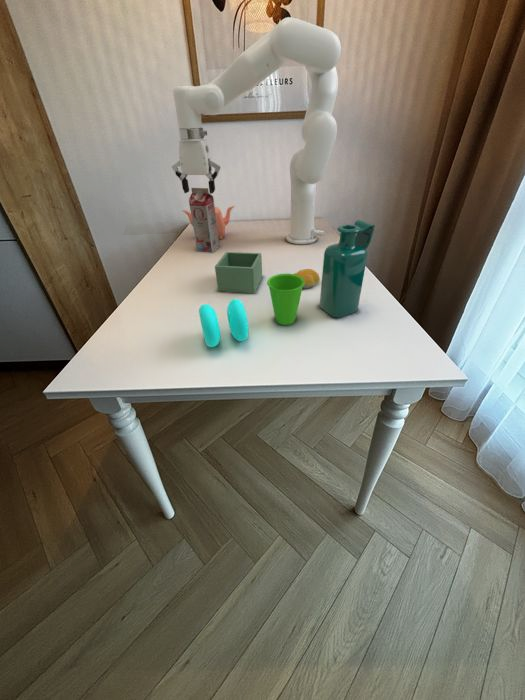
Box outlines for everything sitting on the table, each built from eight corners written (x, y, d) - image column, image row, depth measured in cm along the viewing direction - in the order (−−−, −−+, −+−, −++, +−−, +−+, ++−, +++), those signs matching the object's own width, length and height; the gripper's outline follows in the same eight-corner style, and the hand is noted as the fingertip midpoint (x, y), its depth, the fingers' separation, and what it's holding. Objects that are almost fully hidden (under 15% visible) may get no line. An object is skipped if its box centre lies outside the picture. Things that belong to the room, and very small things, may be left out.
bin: (262, 276, 102) (261, 253, 97) (254, 293, 93) (253, 268, 88) (228, 275, 104) (226, 251, 99) (218, 291, 96) (214, 266, 91)
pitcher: (335, 320, 80) (346, 234, 67) (316, 306, 86) (323, 224, 73) (364, 310, 84) (380, 226, 70) (344, 297, 90) (355, 217, 76)
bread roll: (323, 281, 98) (324, 269, 96) (306, 291, 93) (307, 279, 91) (302, 274, 103) (303, 262, 100) (285, 283, 98) (285, 271, 95)
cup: (306, 313, 83) (308, 275, 77) (298, 332, 77) (299, 292, 70) (274, 308, 86) (273, 271, 79) (263, 326, 79) (261, 287, 72)
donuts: (251, 348, 72) (248, 311, 66) (208, 356, 70) (201, 320, 64) (241, 325, 80) (237, 290, 74) (202, 333, 78) (196, 297, 72)
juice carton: (212, 252, 121) (203, 190, 108) (197, 250, 123) (186, 189, 110) (219, 246, 126) (212, 186, 113) (204, 244, 128) (195, 185, 114)
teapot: (186, 239, 135) (181, 208, 127) (212, 228, 145) (208, 199, 137) (212, 245, 127) (207, 212, 120) (237, 233, 138) (234, 203, 130)
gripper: (220, 133, 103) (225, 190, 113) (171, 134, 106) (181, 190, 116) (213, 135, 97) (219, 195, 108) (162, 136, 100) (172, 194, 111)
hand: (199, 192), depth 112 cm, fingers open, 9 cm apart
